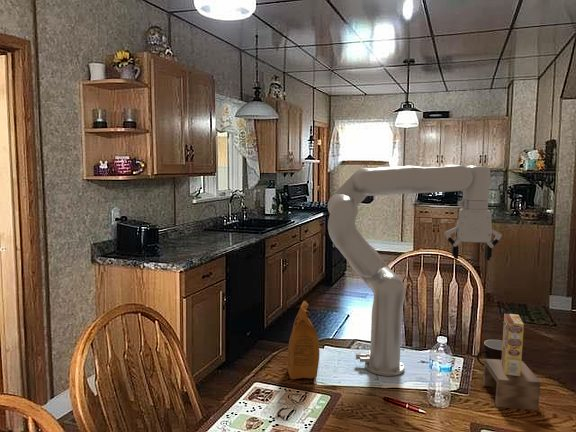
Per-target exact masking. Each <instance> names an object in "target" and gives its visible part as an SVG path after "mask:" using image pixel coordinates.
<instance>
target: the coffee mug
mask: <svg viewBox="0 0 576 432" xmlns="http://www.w3.org/2000/svg"><path fill="white" fill-rule="evenodd" d="M502 343H503V340H500V339H487V340H485V341H484V342H483V348H484V350H481V351H479V352H478V353H477V355H476V361H477V362H478V363H479V364H480V365H481V366H483V367H484V363H483V362H482V361H481V360H480V356H481V355H482V354H483V353H484V360H485V359H498V360H502Z"/></svg>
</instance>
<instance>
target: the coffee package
mask: <svg viewBox="0 0 576 432" xmlns="http://www.w3.org/2000/svg"><path fill="white" fill-rule="evenodd" d="M308 308H309V303H307V301H306V300H303V301H302V304H301V305H300V308H299V310H298V312H297V314H296V317H295V318H294V320H293V321H294V322H293V326H292V330H291V333H290V336H289V341H288V348H287V359H286V360H287V363H286V364H287V365H286V366H287V367H286V369H287V373H288V375H289V378H290V379H291V380H297V379H314V378H315V379H316V378H317V376H318V370H319V364H320V345H319V344H320V343H319V337H318V333H317V330H316V329H315V326H314V324H313V323H312V322H311V320H310V318H309V316H311V313H310V311H308V310H307V309H308Z"/></svg>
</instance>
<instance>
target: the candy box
mask: <svg viewBox="0 0 576 432" xmlns="http://www.w3.org/2000/svg"><path fill="white" fill-rule="evenodd" d="M503 315H504V316H503V328H502V329H503V331H502V341H503V343H502V361H501V363H502V366H503V369H504V372H505V375H512V376H520V374H521V361H523V360H522V356H523V345H524V343H523V342H524V329H525V323H524V322H523V320H522V319H521V316H520V315H519V314H515V313H504V314H503Z"/></svg>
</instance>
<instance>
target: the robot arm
mask: <svg viewBox="0 0 576 432" xmlns="http://www.w3.org/2000/svg"><path fill="white" fill-rule="evenodd" d="M490 178H491V169H490V167H489V166H486V165H467V166H465V165H459V164H446V165H443V166H436V167H435V166H434V167H428V166H427V167H425V166H416V165H404V166H391V167H389V166H388V167H375V168H374V167H371V168H370V167H362V168H359V169H358V170H355V172H354V173H353V174H352V175H351V176H350V177H349V178H348V179H347V180H346V181H345V182H344V183H343V184H342V185H340V187H339V188H338V189H337V190H336V191H335V192H334V194H332V195H331V196H330V198H329V199H328V202H327V210H328V213H329V217H328V220H327V230H328V231H327V232H328V235H329V238H330V240H331V242H332V243H333V244H334V246H335V247H336V249H338V251H339V252H340V253H341V255H342V256H343V258H344V259H346V261H347V262H348V264H349V266H350V267H351V269H352V270H353V271H354V272H355V273H356V274H357V275H358V277H360V279H361V280H362V281H364V282H363V283H365V284H366V286H367V287H368V288H369V289H370V290H371V292H372V293H373V299H372V300H373V301H372V302H373V303H372V307H371V324H370V325H371V327H370V328H371V329H370V346H369V347H370V348H369V350H368V352H365V353H360V352H357V353H355V360H359V362H360V363H364V366H365V367H364V368H365V369H366V370H367V371H368V372H370V373H372V374H375V375H378V376H384V377H393V376H398V375H401V374H403V373H404V371H405V365H404V364H405V363H403V362H402V361H401V346H402V345H401V344H402V343H401V342H402V326H403V325H402V322H403V319H402V318H403V308H404V302H405V298H406V287H405V284H404V282H403V280H402V279H401V277H400V276H399V275H398V274H396V273H395V272H394V271H393V270H392V268H391V267H389V265H388V264H387V263H386V262H385V261H384V260H383V258H382V257H381V256H380V254H379V252H378V251H377V250H376V249H375V248H374V246H372V245H370V244H369V242H368V241H367V240H366V238H364V236H363V235H362V233H360V231H359V229H358V228H357V226H356V219H357V217H358V213H359V207H358V206H359V205H361V203H362V202H363V201H364V200H365V199H366V198H367V197H374V196H389V195H391V196H392V195H405V194H406V195H409V194H426V193H446V192H447V193H449V192H450V193H451V192H460V191H462V199H461V200H458V201H457V206H460V207H461V208H459V211H458V214H457V215H458V216H457V221H456V226H455V227H453V228H450V229H448V230H446V231H444V235H445V237H446V241H448V243H450V244H451V245H452V252H451V255H452V257H453V258H454V259H455V260H458V259H459V251H460V249H459V248H460V247H459V244H461V242H464V243H465V242H466V243H485V244H486V246H485V247H484V248H485V249H484V259H485V260H487V261H491V258H492V256H493V254H492V253H493V248H494V247H495V245H497V244H499V241H500V240H501V238H502V237H503V234H502V233H500V232H499V231H496V230H495V229H494V228H492V226H493V225H492V213H491V210H490V209H489V195H490V194H489V193H490V192H489V191H490V180H491V179H490ZM454 233H455V238H454V239H453V238H452V234H454ZM492 234H493V235H494V236H495V237H494V238H493V239H492Z"/></svg>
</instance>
